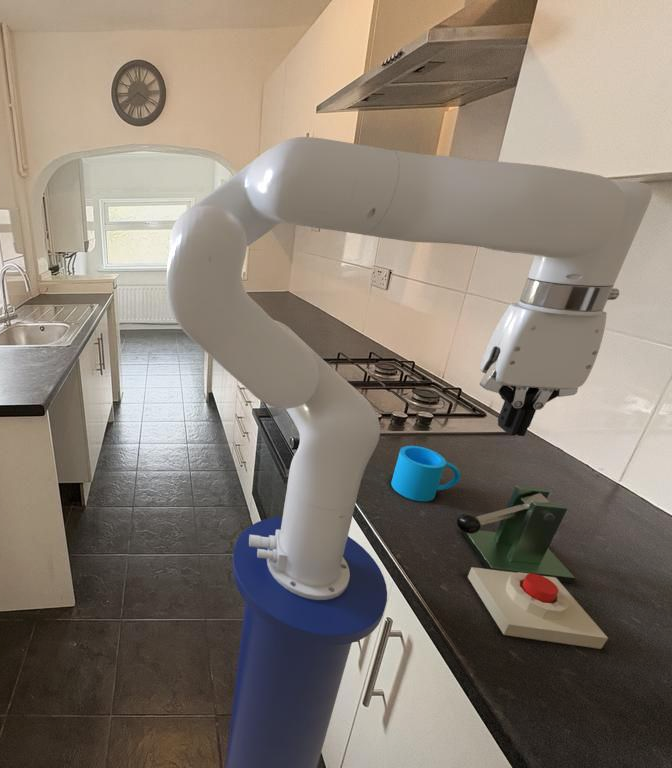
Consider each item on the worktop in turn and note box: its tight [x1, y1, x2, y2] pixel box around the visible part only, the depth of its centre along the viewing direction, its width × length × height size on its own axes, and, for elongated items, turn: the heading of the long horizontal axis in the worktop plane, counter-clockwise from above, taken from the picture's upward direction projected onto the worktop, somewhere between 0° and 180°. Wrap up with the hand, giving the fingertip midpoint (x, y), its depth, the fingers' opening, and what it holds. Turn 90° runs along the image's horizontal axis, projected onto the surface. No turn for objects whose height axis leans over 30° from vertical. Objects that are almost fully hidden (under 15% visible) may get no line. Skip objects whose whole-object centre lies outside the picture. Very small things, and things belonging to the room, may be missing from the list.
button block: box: [467, 566, 609, 650], centre depth 61 cm, size 12×10×4 cm
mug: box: [390, 445, 461, 502], centre depth 86 cm, size 12×8×8 cm
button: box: [522, 574, 558, 603], centre depth 60 cm, size 4×4×2 cm
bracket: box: [462, 485, 576, 584], centre depth 68 cm, size 12×9×13 cm
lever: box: [456, 493, 551, 534], centre depth 68 cm, size 13×3×3 cm, turn 79°
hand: (510, 430), depth 57 cm, fingers closed
